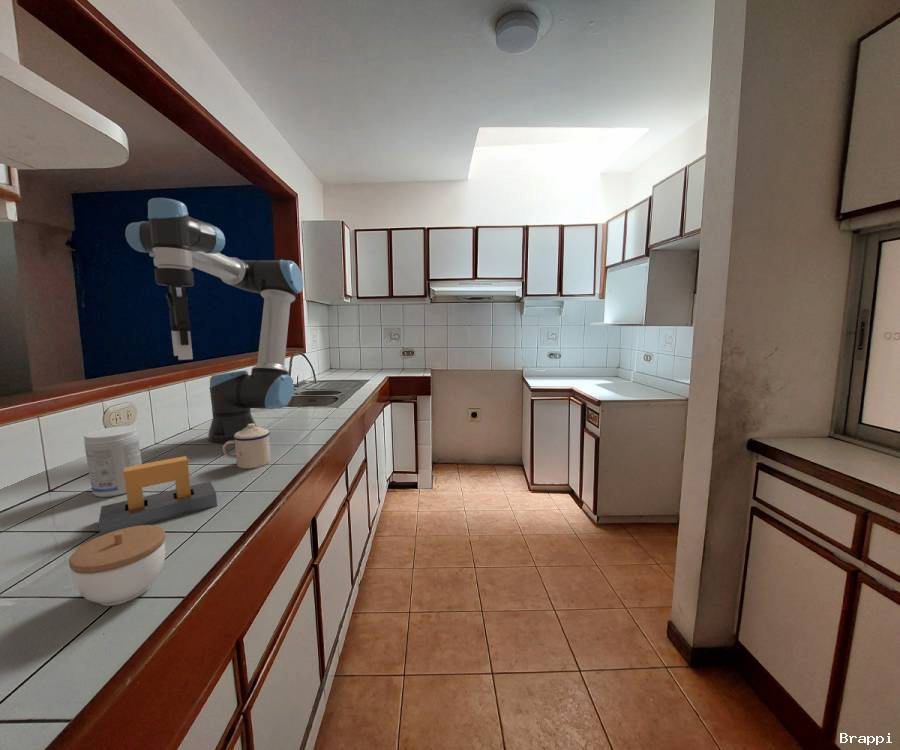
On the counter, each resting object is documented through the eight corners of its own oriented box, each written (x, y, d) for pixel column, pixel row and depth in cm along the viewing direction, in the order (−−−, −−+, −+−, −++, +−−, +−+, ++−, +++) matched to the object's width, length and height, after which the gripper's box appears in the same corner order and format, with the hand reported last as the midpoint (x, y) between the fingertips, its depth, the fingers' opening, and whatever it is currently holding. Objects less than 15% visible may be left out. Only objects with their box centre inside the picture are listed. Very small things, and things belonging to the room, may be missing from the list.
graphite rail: (103, 520, 77) (101, 506, 77) (211, 493, 89) (210, 481, 89) (100, 537, 71) (98, 522, 70) (217, 505, 83) (216, 492, 82)
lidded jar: (107, 573, 61) (100, 519, 59) (182, 563, 63) (176, 511, 62) (55, 625, 50) (44, 561, 49) (147, 611, 53) (139, 549, 51)
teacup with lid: (272, 456, 114) (270, 418, 112) (269, 466, 105) (267, 426, 104) (227, 461, 110) (224, 422, 108) (220, 472, 101) (217, 431, 99)
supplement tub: (136, 478, 98) (129, 423, 96) (151, 486, 93) (144, 429, 91) (86, 492, 90) (77, 432, 88) (99, 502, 85) (90, 439, 83)
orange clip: (190, 502, 84) (186, 455, 83) (192, 507, 82) (187, 459, 81) (130, 517, 78) (124, 467, 76) (130, 523, 75) (123, 472, 74)
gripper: (152, 272, 97) (161, 354, 100) (156, 260, 78) (167, 362, 81) (187, 275, 101) (195, 353, 104) (199, 264, 82) (208, 360, 85)
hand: (183, 357), depth 92 cm, fingers open, 13 cm apart
